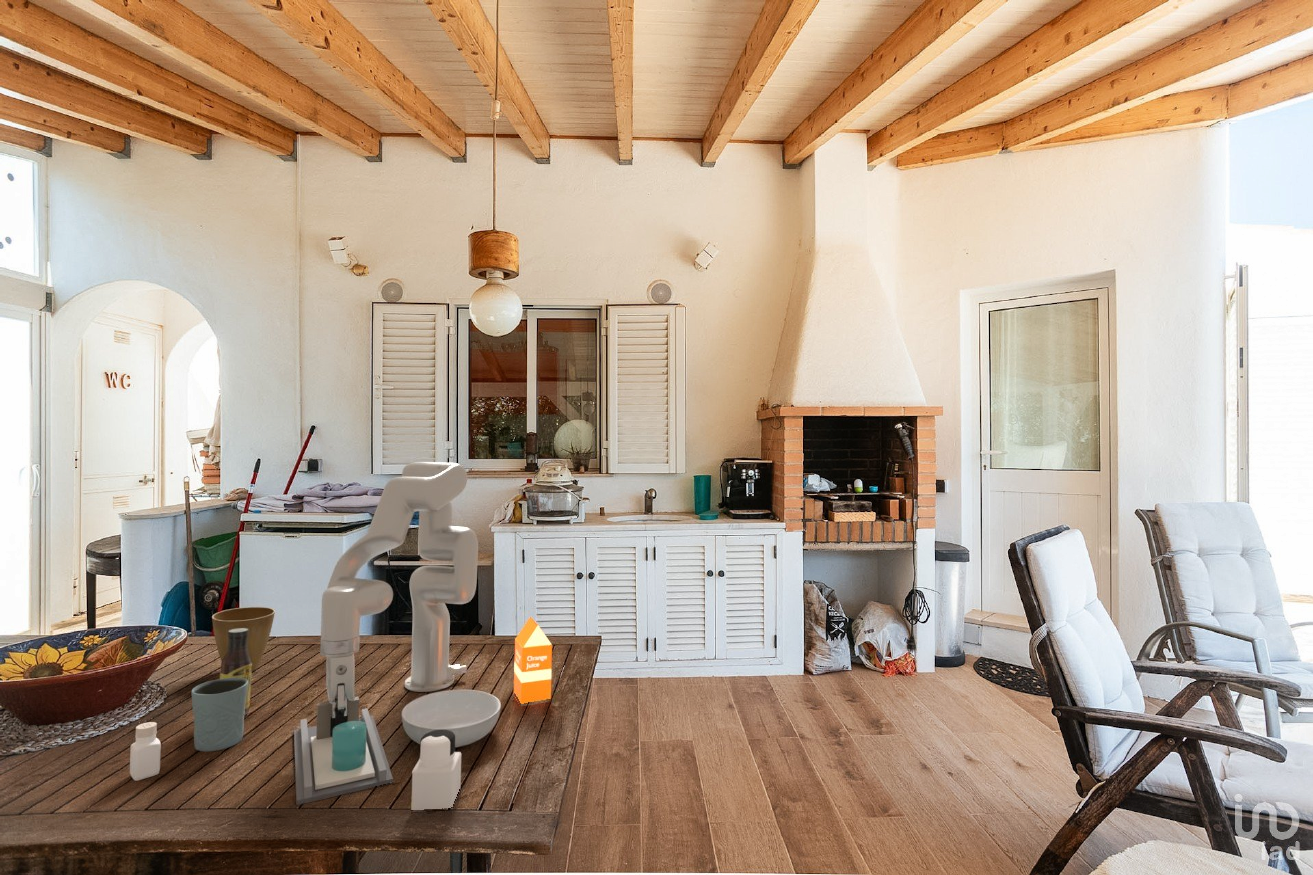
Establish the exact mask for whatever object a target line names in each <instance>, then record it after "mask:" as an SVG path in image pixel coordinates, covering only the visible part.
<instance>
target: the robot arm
mask: <svg viewBox="0 0 1313 875" xmlns="http://www.w3.org/2000/svg"><path fill="white" fill-rule="evenodd" d="M467 483H468V473H467V471H466V469H465V467H464V466H463V465H461V464H460V463H456V462H434V461H416V462H410V463H408V464H406V465H405V466H404V467H403V469H402V471H401V476H395V477H393V478H391V479H390V480H388V481H387V483H386V484H385V485H384V488H383V491H382V493H381V497H380V498H379V501H378V504H377V507H376V509H375V512H374V515H373V517H372V520H371V522H370V525H369V528H368V530H367V532H366V533H365V534H364V535H363V536H362V537H361V538H359V539H358V540H357V541H356V542H354V543H353V544H352V545H351V546H350V547H349V548H348V549H347V550H346V551H345V552H344V553H343V554H342V555H341V556H340V557H339V560H338V561H337V562H336V564H335V566H334V568H333V571H332V573H331V576H330V579H329V582H328V583H327V584H328V585H327V588H326V589H325V590H324V591H323V592H322V594H321V595H322V596H321V617H320V618H321V620H320V624H321V625H320V650H319V653H320V656H322V657H326V659H325V660H326V662H325V664H326V666H325V669H326V670H325V674H326V676H325V677H326V678H325V680H326V681H325V683H326V691H327V699H328V701H329V703H330V704H332V717H331V723H330V736H331V737H333V728H334V727H335V726H337V725H339V724H342V723H345V722H347V721H348V714H347V698H348V700H351V701H353V700H354V699H355V697H356V696H355V680H356V679H355V675H356V674H355V671H356V669H355V654H356V653H358V652H359V651H360V633H361V632H360V631H361V630H360V627H361V618H362V617H365V616H371V615H376V614H381V613H382V612H384V611H385V610H387V608H389V606H391V604H392V601H393V599H394V598H393V597H394V591H393V588H392V586H391V585H390V584H389V583H388V582H386V581H384V580H379V579H369V578H368V579H367V578H359V577H358V578H357V576H358V574H359V572H360V570H361V569H362V568H363V566H365V565H366V563H368V562H369V561H370V560H372V559H373V558H375V557H377V556H379V555H381V554H383V553H386V552H389V551H390V550H393V549H396V548H398V547H400V546H402V545H403V543H404V542H405V540H406V536H407V534H408V531H409V528H410V525H411V522H412V519H413V516H414V515H415V512H418V514H419V516H418V517H419V518H418V531H417V532H418V534H417V535H418V536H417V551H418V556H420V558H422V559H423V560H425V561H426V560H427V561H431V562H432V561H433V562H445V563H447V562H448V563H453V566H446V565H423V566H420V567H418V568H416V569H415V570H414V571H413V572H412V573H411V575H410V579H409V592H410V594H409V595H410V598H411V606H412V627H411V628H412V630H411V631H412V632H411V636H412V637H411V662H410V663H411V664H410V676H409V677H407V678H406V679H405V680H404V687H405V689H407V690H409V691H412V692H416V693H417V692H419V693H424V692H425V693H427V692H437V691H440V690H441V691H442V690H444V689H446V688H448V687H450V686H451V685H453V684H454V682H455V675H457V674H459V675H460V674H466V673H467V670H468V669H467V665H461V666H460V664H453V665H451V664H450V662H449V661H450V632H451V631H450V627H451V626H450V625H451V619H450V617H451V616H450V613H449V610H448V608H447V605H446V604H450V605H452V604H453V605H464V604H467V603H469V602H471V600H472V599H473V598H474V596H475V594H476V591H477V583H478V582H477V580H478V566H479V565H478V563H479V562H478V561H479V541H478V540H479V539H478V537H477V535H476V532H475V531H474V530H473V529H471V528H470V527H466V526H454V525H453V506H452V503H451V502H452V501H453V500H454V499H456V498H457V497H458V496H460V495H461V494H462V493H463V491H464V490H465V488H466V487H467ZM344 699H345V700H344ZM335 700H338V701H337V702H335ZM335 705H337V707H336V709H335Z"/></svg>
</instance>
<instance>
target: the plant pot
mask: <svg viewBox="0 0 1313 875" xmlns="http://www.w3.org/2000/svg"><path fill="white" fill-rule="evenodd" d="M275 615H276V609H274V608H271V607H267V606H266V607H263V606H247V607H246V606H245V607H238V608H237V607H236V608H230V609H225V610H221V611H219V612H216V613H214V614H212V616H211V622H212V630H213V636H214V641H215V645H216V650H217V652H218V655H219V659H220V661H221V662H222V659H223V658H224V656H225V655H226V653H227V652H228V643H229V638H228V631H229V630H232V629H238V628H247V629H248V630H249V631H248V633H249V634H248V636H247V649H248V653H249V656H250V660H251V662H252V672H254V671H256V670H257V669H258V667H259V665H260V662H261V660H262V658H263V656H264V652H265V650H266V648H267V644H268V641H269V639H270V635H271V632H272V628H273V624H274V623H273V622H274V619H275Z"/></svg>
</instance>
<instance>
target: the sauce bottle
mask: <svg viewBox="0 0 1313 875" xmlns="http://www.w3.org/2000/svg"><path fill="white" fill-rule="evenodd" d="M248 631H249V630H248V629H247V628H238V629H232V630H229V631H228V638H229V643H228V652H227V653H226V655H225V656H224V658H223V659H222V661H221V663H220V673H219V679H225V678H243V679H246V680H248V690H247V698H246V703H245V715H244V716H246V715H247V714H248V713H249V710H250V705H251V689H252V688H251V687H252V686H251V685H252V672H253V671H252V662H251V660H250V656H249V653H248V649H247V636H248V634H249V633H248Z"/></svg>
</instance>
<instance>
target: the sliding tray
mask: <svg viewBox="0 0 1313 875" xmlns="http://www.w3.org/2000/svg"><path fill="white" fill-rule="evenodd" d="M344 700H345V698H344ZM337 701H338V700H335V702H337ZM316 703H317V704H316V707H317V708H316V726H317V731H316V736H314V737H311V748H312V759H313V770H314V781H315V790H317V789H321V788H326V787H330V786H335V785H339V784H344V783H348V782H353V781H357V780H362V779H366V778H371V777H375V771H374V768H373V764H372V760H371V757H370V753H369V749H368V746H367V742H366V762H365V763H364V764H363V765H362V766H361V767H359V768H356V769H353V770H349V771H336V770H333V769H332V738H333V737H331V736H330V723H331V717H332V704H330V703H329V700H328V701H322V702H316ZM336 707H337V705H335V709H336ZM347 714H348V721H347V722H350V721H359V718H360V697H359V696H355V699H354V700H353V701H351V700H348V698H347Z"/></svg>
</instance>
